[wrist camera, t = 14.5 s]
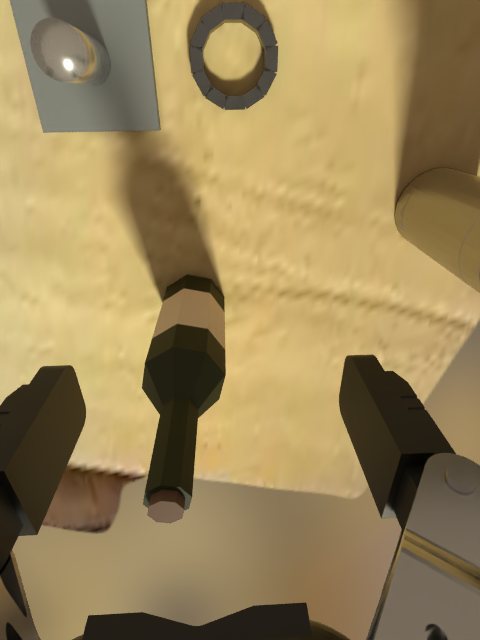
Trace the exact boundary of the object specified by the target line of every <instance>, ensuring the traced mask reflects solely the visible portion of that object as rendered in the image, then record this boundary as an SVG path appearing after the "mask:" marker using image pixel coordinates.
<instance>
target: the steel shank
mask: <svg viewBox="0 0 480 640" xmlns="http://www.w3.org/2000/svg"><path fill="white" fill-rule="evenodd" d="M30 44H31V51H32V54H33V57H34V59H35V61H36V63H37V65H38V66H39V67H40V69H41V70H42V71H43V72H44V73H45V74H46V75H48V76H49V77H51V78H53V79H55V80H58V81H63V82H70V83H76V84H83V85H90V86H97V85H100V84H102V83H104V82H105V81H106V80H107V78H108V77H109V74H110V71H111V61H110V57H109V54H108V52H107V50H106V48H105V47H104V45H103V44H102V43H101V42H100V41H99V40H97V39H96V38H94V37H92V36H90V35H88V34H87V33H85V32H83V31H81V30H79V29H77V28H75V27H73V26H72V25H70V24H68V23H66V22H64V21H62V20H60V19H57V18H45V19H42V20H40V21H39V22H38V23H37V24H36V25H35V27H34V28H33V30H32V33H31V38H30Z"/></svg>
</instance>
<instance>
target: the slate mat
mask: <svg viewBox="0 0 480 640" xmlns="http://www.w3.org/2000/svg"><path fill="white" fill-rule="evenodd" d="M10 3H11V7H12V11H13V15H14V19H15V23H16V27H17V31H18V35H19V39H20V43H21V47H22V50H23V54H24V58H25V62H26V66H27V70H28V74H29V78H30V82H31V86H32V90H33V94H34V98H35V102H36V106H37V109H38V113H39V117H40V121H41V125H42V129H43V133H47V132H103V131H159V130H161V129H160V119H159V110H158V101H157V92H156V83H155V74H154V65H153V56H152V46H151V37H150V28H149V19H148V10H147V1H146V0H10ZM45 18H57V19H60V20H62V21H64V22H66V23H68V24H70V25H72V26H73V27H75V28H77V29H79V30H81V31H83V32H85V33H87V34H88V35H90V36H92V37H94V38H96V39H97V40H99V41H100V42H101V43H102V44H103V45H104V47H105V48H106V50H107V52H108V54H109V57H110V61H111V71H110V74H109V77H108V78H107V80H106V81H105V82H104V83H102V84H100V85H97V86H90V85H83V84H76V83H70V82H63V81H58V80H55V79H53V78H51V77H49V76H48V75H46V74H45V73H44V72H43V71H42V70H41V69H40V67H39V66H38V65H37V63H36V61H35V59H34V57H33V54H32V51H31V44H30V38H31V33H32V30H33V28H34V27H35V25H36V24H37V23H38V22H39V21H40V20H42V19H45Z"/></svg>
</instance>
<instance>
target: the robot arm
mask: <svg viewBox="0 0 480 640" xmlns="http://www.w3.org/2000/svg"><path fill="white" fill-rule="evenodd" d="M395 222H396V226H397V229H398V231H399V233H400V234H401V235H402V237H404V238H405V239H406V240H407V241H409V242H410V243H412V244H413V245H414V246H416V247H417V248H418V249H420V250H421V251H422V252H424V253H425V254H426V255H428V256H429V257H431V258H432V259H433V260H435V261H436V262H437V263H439V264H440V265H442V266H443V267H444V268H446V269H447V270H448V271H450V272H451V273H453V274H454V275H455V276H457V277H458V278H459V279H461V280H462V281H464V282H465V283H466V284H468V285H469V286H471V287H472V288H473V289H475V290H476V291H478V292H479V293H480V177H479V176H475V175H472V174H469V173H465V172H461V171H458V170H454V169H450V168H437V169H433V170H429V171H427V172H425V173H423V174H421V175H420V176H418V177H417V178H415V179H414V180H413V181H412V182H411V183H410V184H409V185H408V186H407V187H406V189H405V190H404V191H403V193H402V194H401V196H400V198H399V200H398V203H397V206H396V211H395ZM339 406H340V412H341V415H342V418H343V421H344V423H345V426H346V428H347V431H348V434H349V436H350V439H351V441H352V444H353V446H354V449H355V452H356V454H357V457H358V459H359V462H360V464H361V467H362V470H363V472H364V475H365V477H366V480H367V482H368V485H369V488H370V490H371V493H372V495H373V498H374V500H375V503H376V506H377V508H378V511H379V513H380V516H381V518H397V519H398V522H399V524H400V526H401V528H402V530H401V532H400V535H399V539H398V542H397V545H396V548H395V551H394V554H393V558H392V561H391V564H390V567H389V570H388V574H387V577H386V580H385V583H384V586H383V590H382V593H381V596H380V600H379V603H378V605H377V608H376V612H375V614H374V618H373V620H372V623H371V626H370V629H369V632H368V636H367V639H366V640H480V466H479V465H478V464H477V463H475V462H473V461H472V460H470V459H468V458H466V457H463V456H460V455H457V454H456V453H455V452H454V450H453V449H452V448H451V446H450V444H449V443H448V441H447V440H446V438H445V437H444V435H443V434H442V432H441V431H440V429H439V428H438V427H437V425H436V424H435V422H434V421H433V419H432V418H431V416H430V415H429V413H428V412H427V411H426V410H425V409H424V406H423V404H422V403H421V401H420V400H419V399H417V395H416V394H415V392H414V391H413V389H412V388H411V386H410V385H409V383H408V382H407V381H405V380H404V379H403V378H401V377H400V376H399V375H397V374H396V373H395V372H394V371H384V369H383V368H382V366H381V365H380V363H379V361H378V360H377V358H376V357H375V356H374V355H350V356H347V357H346V359H345V363H344V369H343V375H342V381H341V388H340V394H339ZM85 418H86V407H85V402H84V399H83V396H82V393H81V389H80V386H79V383H78V379H77V376H76V373H75V370H74V368H73V367H72V366H70V365H66V366H43V367H41V368H40V369H39V371H38V372H37V374H36V375H35V377H34V378H33V379H32V381H31V382H30V384H29V385H22V386H21V387H19V388H18V389H17V390H16V391H14V392H13V393H12V394H10V395H9V396H8V397H6V399H5V400H4V401H3V403H2V404H1V405H0V640H41V639H40V637H39V635H38V632H37V630H36V627H35V625H34V621H33V618H32V615H31V611H30V608H29V604H28V601H27V597H26V594H25V590H24V586H23V583H22V579H21V576H20V572H19V569H18V565H17V562H16V558H15V555H14V553H13V551H12V548H13V546H14V544H15V542H16V540H17V538H18V536H25V535H37V534H38V532H39V529H40V527H41V525H42V522H43V520H44V518H45V515H46V513H47V511H48V508H49V506H50V504H51V501H52V499H53V497H54V494H55V492H56V490H57V487H58V485H59V483H60V480H61V478H62V476H63V473H64V471H65V469H66V466H67V464H68V462H69V459H70V457H71V455H72V452H73V450H74V448H75V445H76V443H77V441H78V438H79V436H80V434H81V431H82V429H83V427H84V423H85ZM73 640H350V639H348V638H347V637H346V636H344V635H343V634H341V633H339V632H338V631H336V630H334V629H332V628H331V627H328V626H326V625H324V624H321V623H319V622H315V621H312V620H309V616H308V610H307V604H306V603H293V604H276V605H260V606H252V607H249V608H246V609H244V610H241V611H239V612H236V613H234V614H231V615H228V616H226V617H223V618H221V619H218V620H215V621H213V622H210V623H207V624H205V625H202V626H191V625H187V624H184V623H180V622H176V621H172V620H169V619H165V618H162V617H158V616H154V615H150V614H147V613H143V612H141V613H124V614H109V615H90V616H88V619H87V623H86V626H85V631H84V634H83V635H81V636H79V637H76V638H75V639H73Z"/></svg>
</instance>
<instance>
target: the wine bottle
mask: <svg viewBox="0 0 480 640" xmlns="http://www.w3.org/2000/svg"><path fill="white" fill-rule="evenodd" d="M225 375H226V369H225V311H224V296H223V295H222V294H221V292H220V291H219V289H218V288H217V287H216V285H215V284H214V283H213V281H212V280H211V279H207V278H202V277H196V276H191V275H186V276H184V277H183V278H181V279H179V280H178V281H176V282H175V283H173V284H171V285H170V286H168V287H167V290H166V294H165V297H164V301H163V304H162V307H161V311H160V314H159V317H158V321H157V324H156V328H155V331H154V334H153V338H152V341H151V345H150V348H149V351H148V355H147V358H146V361H145V368H144V376H143V384H142V389H143V390H144V392H145V393H146V395H147V396H148V398H149V399H150V401H151V402H152V404H153V405H154V407H155V408H156V410H157V411H158V412H159V414H160V418H159V423H158V429H157V434H156V439H155V444H154V449H153V454H152V459H151V464H150V469H149V474H148V479H147V484H146V490H145V495H144V502H143V505H145V506H146V507H148V508H149V509H148V514H147V515H148V516H149V517H151V518H152V519H153V520H155V521H156V522H163V523H164V522H165V523H172V522H175V521H177V520H179V519H181V518H182V517H183V513H184V510H187V509H189V506H190V502H191V499H192V489H193V475H194V462H195V448H196V435H197V422H198V418H199V417H200V416H201V415H202V414H203V413H204V412H205V411H207V410H208V409H209V408H210V407H211V406H212V405H213V404H214V403H215V402H217V401H218V400H219V398H220V394H221V390H222V386H223V383H224V379H225Z"/></svg>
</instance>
